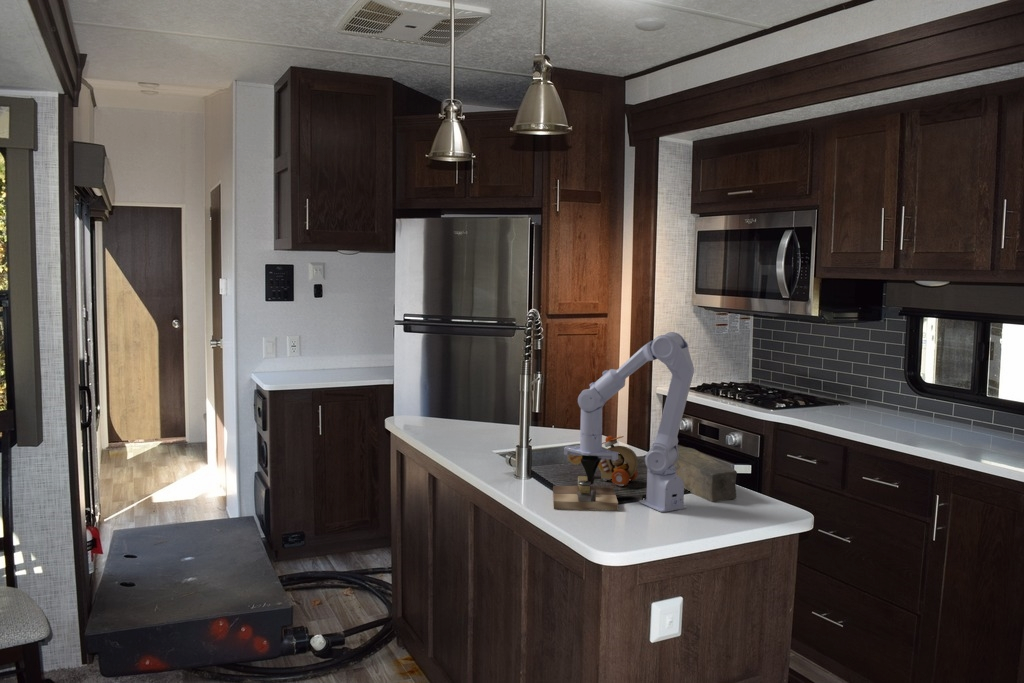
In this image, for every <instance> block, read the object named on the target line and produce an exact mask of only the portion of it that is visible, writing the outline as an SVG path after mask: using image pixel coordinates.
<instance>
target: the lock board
mask: <svg viewBox="0 0 1024 683" xmlns="http://www.w3.org/2000/svg"><path fill="white" fill-rule="evenodd" d="M552 500H553V510H575V511H577V510H578V511H581V510H582V511H583V510H584V511H585V510H586V511H616V512H617V511H618V510H619V501H618V499H617V495H616V492H615V488H614V486H592V485H590V493H580V490H579V486H578V485H553V486H552Z"/></svg>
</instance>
